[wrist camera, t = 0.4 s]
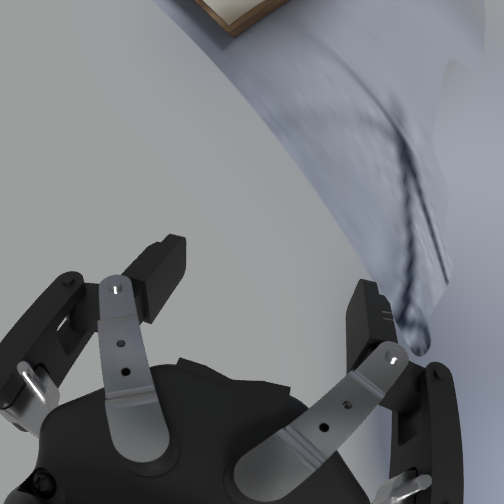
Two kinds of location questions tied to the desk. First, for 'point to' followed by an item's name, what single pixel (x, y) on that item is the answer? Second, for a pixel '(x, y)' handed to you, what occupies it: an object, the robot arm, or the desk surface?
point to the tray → (238, 12)
